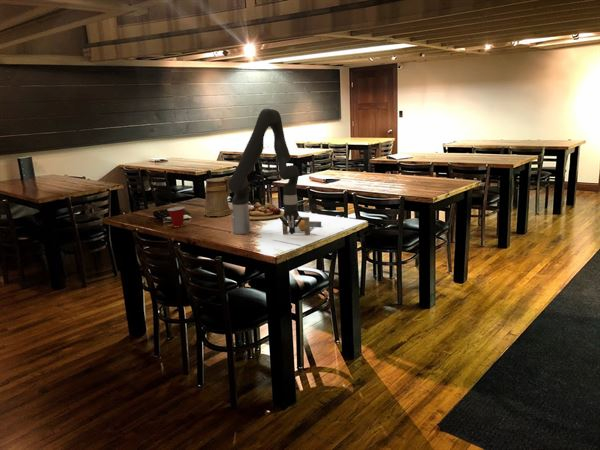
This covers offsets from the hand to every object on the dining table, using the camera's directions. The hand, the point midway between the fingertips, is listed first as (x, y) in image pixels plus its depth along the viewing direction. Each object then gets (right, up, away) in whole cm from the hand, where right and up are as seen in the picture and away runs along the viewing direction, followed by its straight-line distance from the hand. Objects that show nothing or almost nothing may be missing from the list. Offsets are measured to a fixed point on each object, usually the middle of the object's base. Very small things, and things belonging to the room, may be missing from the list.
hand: (292, 233), depth 273 cm
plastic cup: (-73, +4, +41) cm, 83 cm away
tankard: (-51, +12, +73) cm, 90 cm away
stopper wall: (+7, +4, +25) cm, 26 cm away
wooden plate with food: (-21, +10, +60) cm, 64 cm away
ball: (+6, +5, +15) cm, 17 cm away
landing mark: (+5, +2, +16) cm, 17 cm away
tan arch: (+2, 0, +8) cm, 8 cm away
